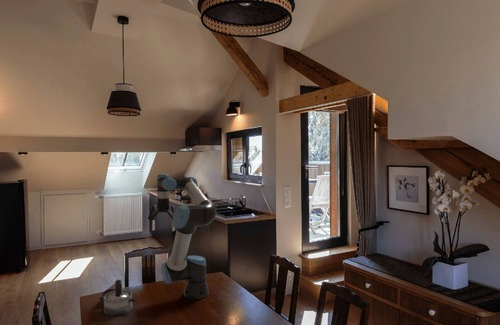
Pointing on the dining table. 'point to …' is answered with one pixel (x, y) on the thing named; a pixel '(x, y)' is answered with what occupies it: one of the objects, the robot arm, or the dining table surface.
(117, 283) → the lid
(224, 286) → the dining table surface
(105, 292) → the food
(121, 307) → the pot
